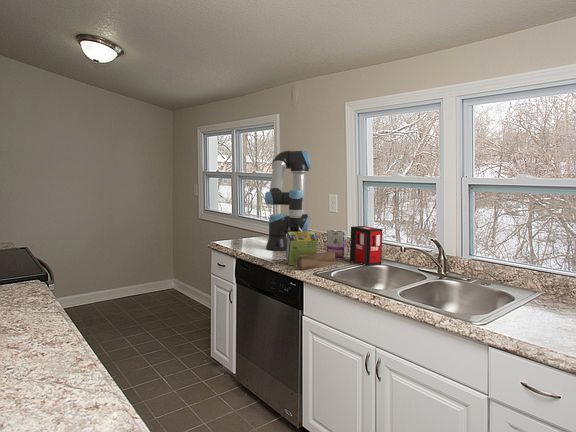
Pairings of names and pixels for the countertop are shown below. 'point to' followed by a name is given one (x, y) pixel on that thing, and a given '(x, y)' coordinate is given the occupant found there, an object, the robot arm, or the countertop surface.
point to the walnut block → (315, 260)
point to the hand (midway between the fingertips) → (293, 257)
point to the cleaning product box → (366, 245)
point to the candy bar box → (337, 242)
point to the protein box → (300, 245)
